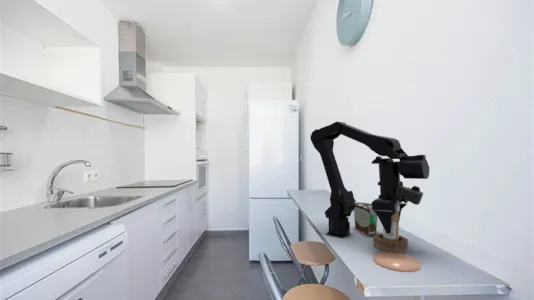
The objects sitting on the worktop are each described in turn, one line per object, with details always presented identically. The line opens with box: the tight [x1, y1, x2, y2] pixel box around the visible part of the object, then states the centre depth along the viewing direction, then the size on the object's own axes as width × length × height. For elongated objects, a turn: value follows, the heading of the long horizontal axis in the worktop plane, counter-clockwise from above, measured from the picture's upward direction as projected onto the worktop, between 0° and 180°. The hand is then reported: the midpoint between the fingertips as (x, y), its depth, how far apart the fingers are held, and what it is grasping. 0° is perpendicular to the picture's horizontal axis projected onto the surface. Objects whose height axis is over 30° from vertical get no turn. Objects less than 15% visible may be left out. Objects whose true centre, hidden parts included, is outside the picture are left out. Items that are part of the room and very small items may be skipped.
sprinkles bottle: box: [382, 205, 400, 242], centre depth 78 cm, size 5×5×14 cm
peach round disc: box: [373, 251, 421, 273], centre depth 67 cm, size 11×11×1 cm
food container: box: [353, 201, 378, 238], centre depth 94 cm, size 12×6×10 cm, turn 9°
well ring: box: [372, 232, 409, 254], centre depth 78 cm, size 9×9×3 cm
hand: (392, 229), depth 78 cm, fingers open, 9 cm apart
